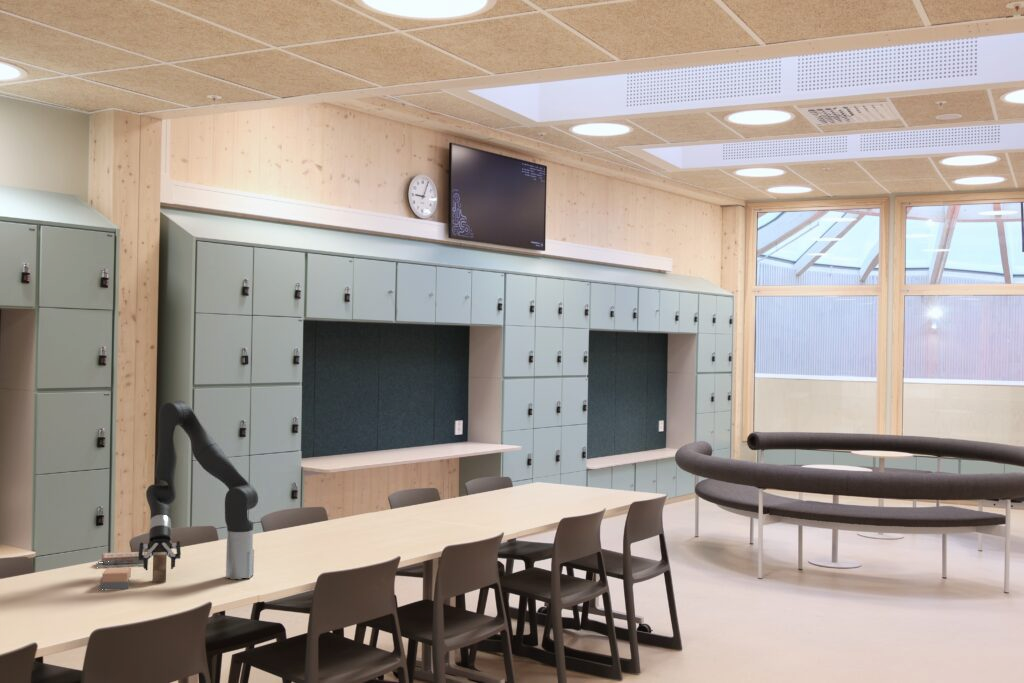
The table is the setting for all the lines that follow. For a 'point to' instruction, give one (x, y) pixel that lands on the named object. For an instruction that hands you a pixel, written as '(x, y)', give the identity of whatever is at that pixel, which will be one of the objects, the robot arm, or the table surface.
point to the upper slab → (116, 575)
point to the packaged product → (120, 559)
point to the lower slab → (114, 585)
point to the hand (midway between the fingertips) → (159, 568)
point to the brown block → (159, 567)
